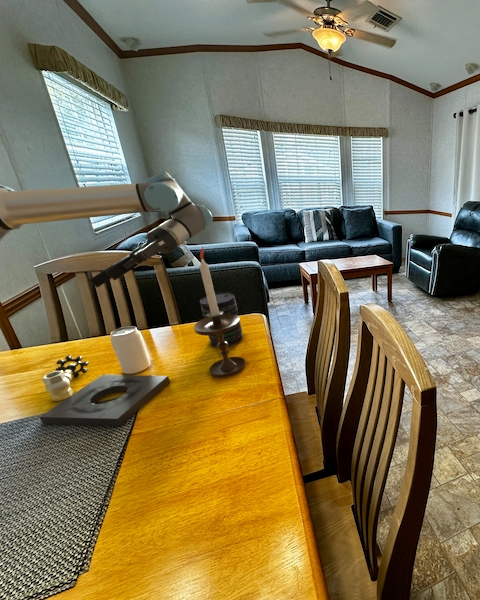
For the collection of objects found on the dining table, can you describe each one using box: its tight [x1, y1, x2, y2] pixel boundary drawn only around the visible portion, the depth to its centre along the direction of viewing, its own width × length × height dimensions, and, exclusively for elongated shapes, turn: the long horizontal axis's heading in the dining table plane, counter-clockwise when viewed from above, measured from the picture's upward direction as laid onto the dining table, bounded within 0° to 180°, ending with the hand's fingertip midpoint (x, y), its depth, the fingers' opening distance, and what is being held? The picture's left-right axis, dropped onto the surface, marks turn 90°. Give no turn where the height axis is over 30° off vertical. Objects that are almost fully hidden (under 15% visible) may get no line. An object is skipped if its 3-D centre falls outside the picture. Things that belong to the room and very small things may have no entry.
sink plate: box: [39, 374, 171, 427], centre depth 80 cm, size 18×16×2 cm
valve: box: [41, 354, 90, 402], centre depth 83 cm, size 7×7×12 cm
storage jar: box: [199, 292, 244, 348], centre depth 105 cm, size 10×10×15 cm
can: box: [110, 325, 151, 375], centre depth 91 cm, size 6×6×12 cm
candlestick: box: [193, 246, 246, 378], centre depth 86 cm, size 11×11×35 cm
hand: (101, 280), depth 86 cm, fingers open, 13 cm apart
